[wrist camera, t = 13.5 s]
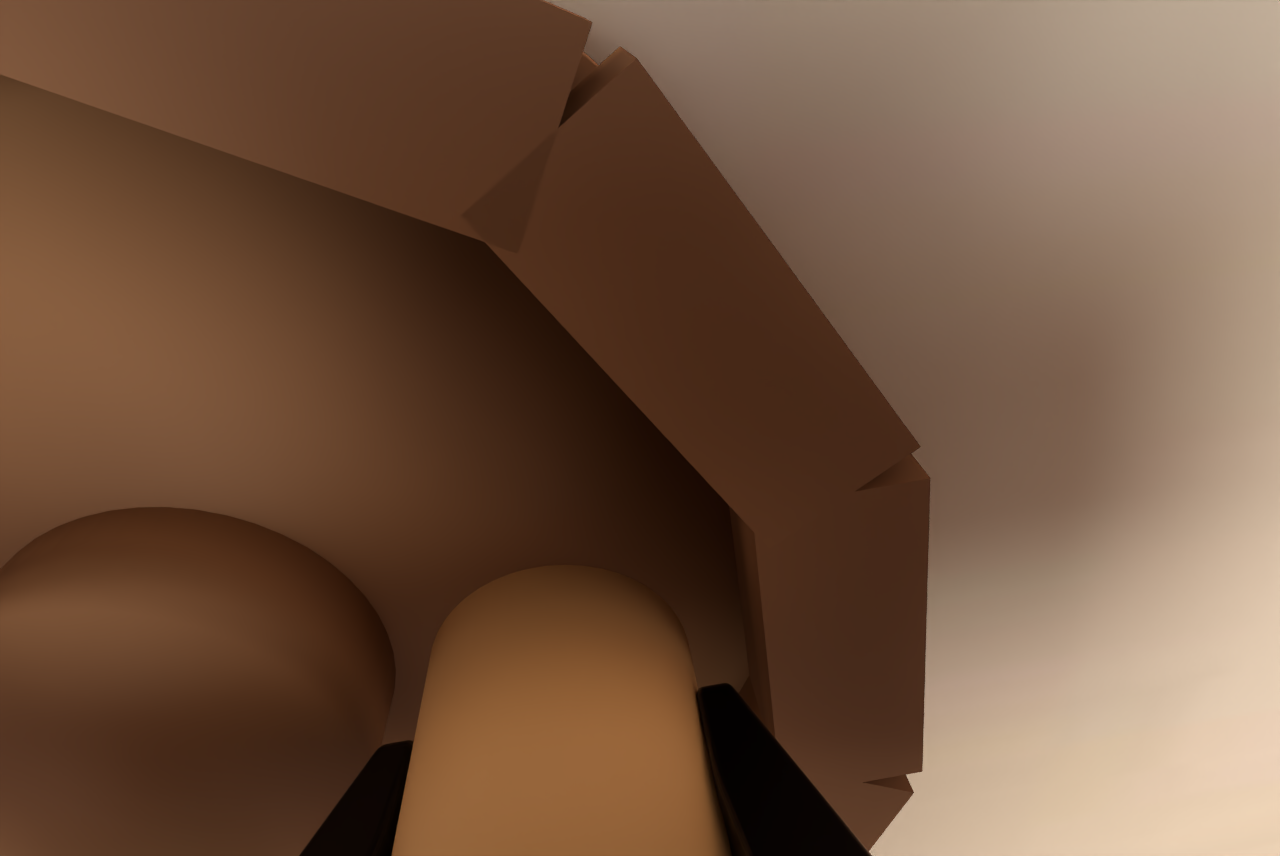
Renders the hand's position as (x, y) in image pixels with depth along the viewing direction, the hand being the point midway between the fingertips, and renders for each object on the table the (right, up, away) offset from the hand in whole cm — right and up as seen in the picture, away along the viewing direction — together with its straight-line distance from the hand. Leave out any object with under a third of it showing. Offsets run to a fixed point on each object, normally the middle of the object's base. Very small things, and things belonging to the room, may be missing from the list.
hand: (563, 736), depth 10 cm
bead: (0, +1, +1) cm, 1 cm away
